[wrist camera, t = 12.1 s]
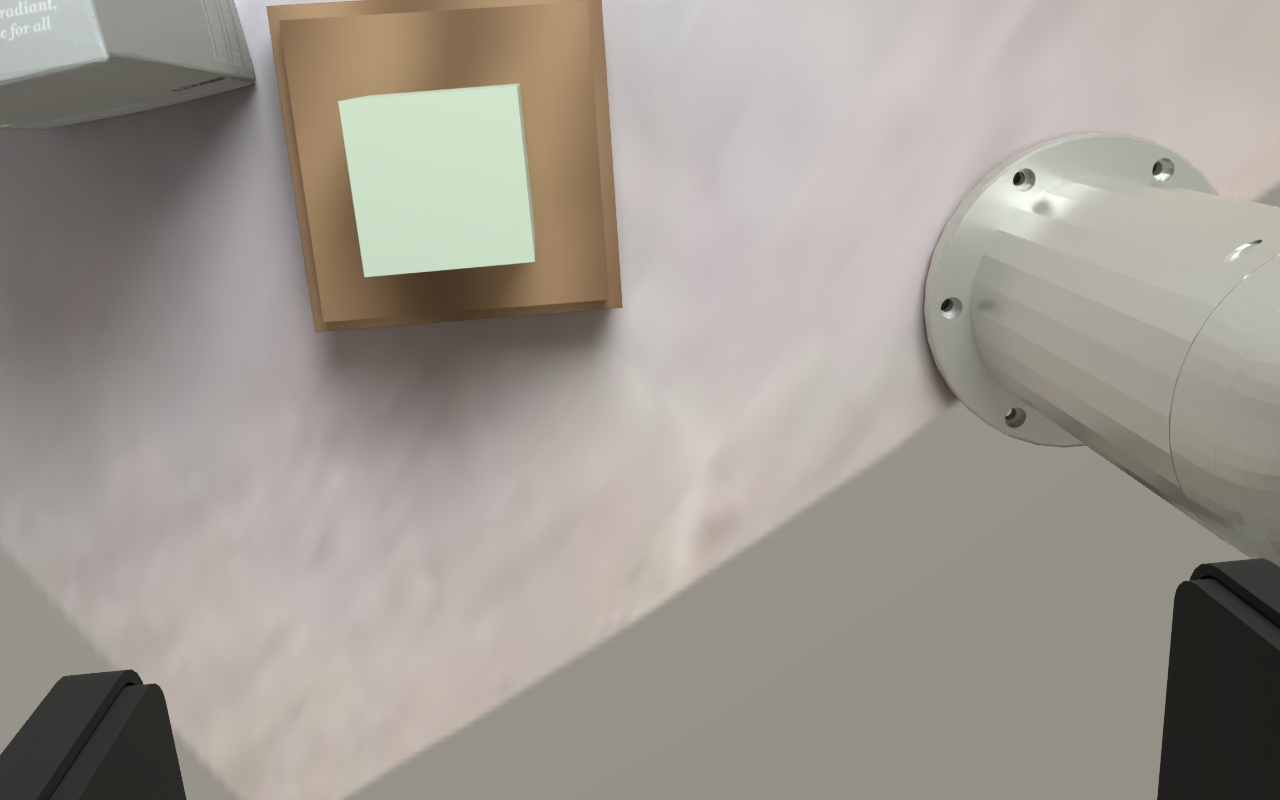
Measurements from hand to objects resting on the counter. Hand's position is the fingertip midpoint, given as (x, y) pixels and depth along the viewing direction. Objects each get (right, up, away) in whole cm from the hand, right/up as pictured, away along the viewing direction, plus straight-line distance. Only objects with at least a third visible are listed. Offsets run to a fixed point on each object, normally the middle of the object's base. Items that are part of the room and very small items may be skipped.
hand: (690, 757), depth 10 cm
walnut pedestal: (-7, +12, +32) cm, 35 cm away
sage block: (-7, +11, +28) cm, 31 cm away
